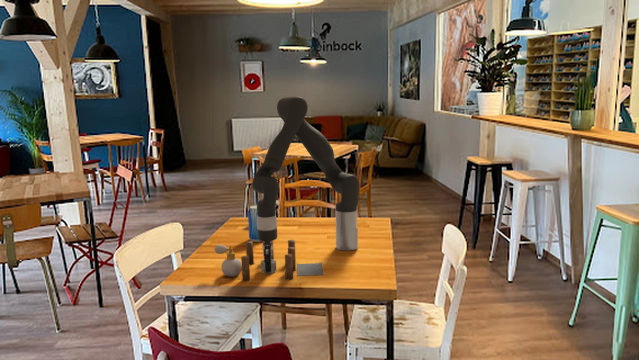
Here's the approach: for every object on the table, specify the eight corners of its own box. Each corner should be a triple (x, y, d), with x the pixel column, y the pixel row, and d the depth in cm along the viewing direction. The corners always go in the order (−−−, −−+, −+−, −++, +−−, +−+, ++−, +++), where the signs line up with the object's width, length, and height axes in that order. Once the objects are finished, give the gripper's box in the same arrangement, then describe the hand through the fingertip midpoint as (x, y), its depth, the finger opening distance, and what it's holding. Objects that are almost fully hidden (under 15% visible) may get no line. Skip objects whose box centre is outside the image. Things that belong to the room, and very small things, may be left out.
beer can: (264, 242, 217) (262, 209, 214) (246, 242, 219) (245, 208, 216) (269, 237, 225) (268, 204, 222) (252, 236, 227) (251, 204, 224)
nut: (276, 268, 186) (276, 258, 185) (276, 273, 181) (275, 263, 180) (261, 269, 185) (261, 259, 185) (261, 273, 180) (260, 263, 180)
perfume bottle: (242, 278, 177) (240, 247, 174) (215, 280, 175) (213, 249, 173) (241, 270, 184) (240, 241, 182) (216, 273, 182) (214, 243, 180)
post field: (295, 257, 197) (294, 237, 195) (295, 279, 174) (295, 256, 173) (247, 259, 196) (246, 239, 194) (242, 281, 173) (240, 258, 172)
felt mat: (321, 263, 190) (321, 263, 190) (323, 274, 178) (323, 274, 178) (297, 264, 189) (297, 263, 189) (297, 275, 178) (297, 275, 178)
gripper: (276, 232, 173) (277, 275, 176) (277, 221, 187) (279, 261, 190) (255, 232, 172) (257, 276, 176) (258, 221, 186) (260, 262, 190)
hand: (268, 268), depth 183 cm, fingers closed on nut, 5 cm apart
